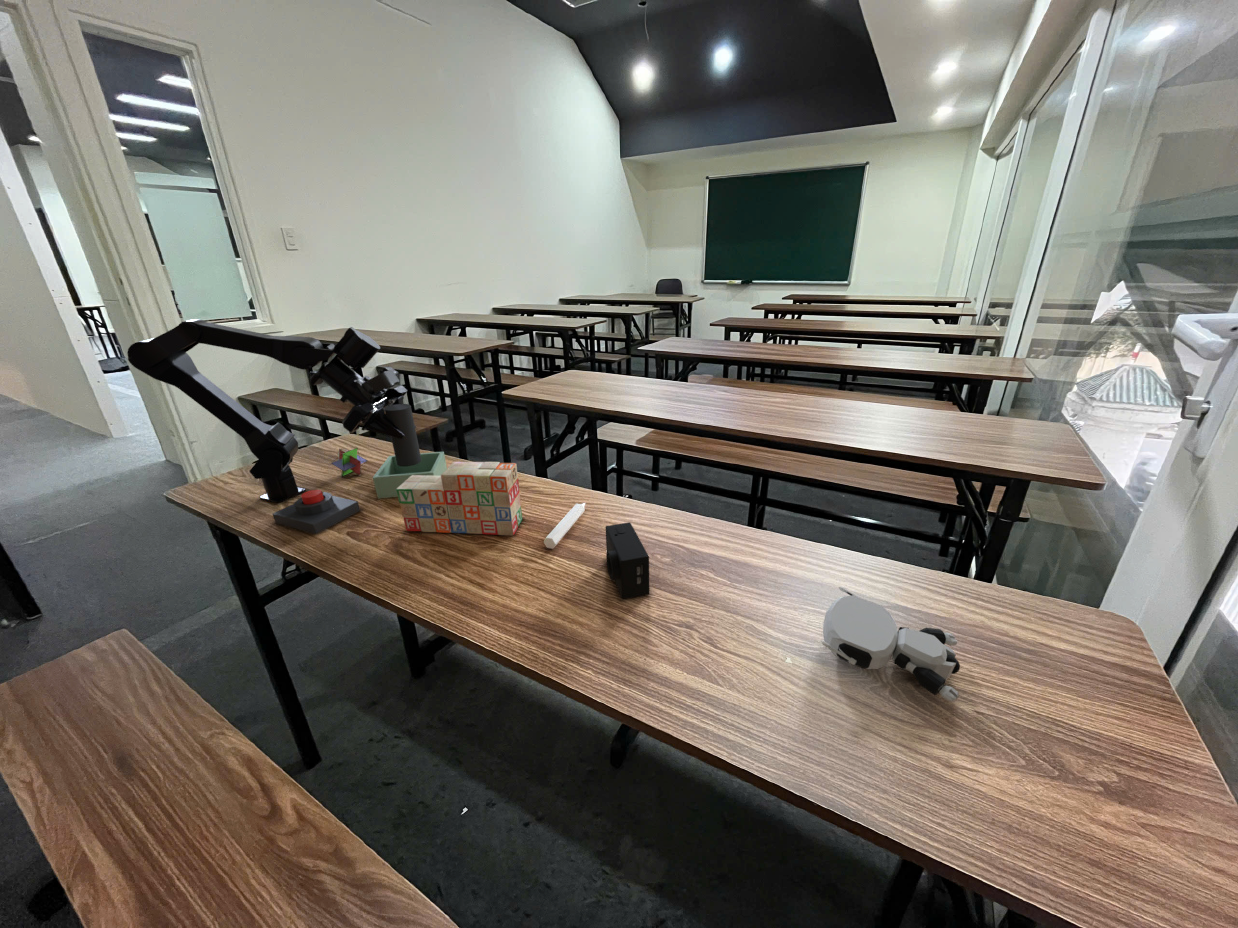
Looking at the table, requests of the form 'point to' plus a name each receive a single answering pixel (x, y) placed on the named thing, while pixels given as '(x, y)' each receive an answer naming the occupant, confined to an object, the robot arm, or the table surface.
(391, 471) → the tote
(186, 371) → the robot arm
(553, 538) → the marker
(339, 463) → the geometric puzzle
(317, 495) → the button
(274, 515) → the control block
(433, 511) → the stack of blocks
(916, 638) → the robot toy
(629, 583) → the digital camera
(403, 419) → the dark grey cylinder
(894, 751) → the table surface
